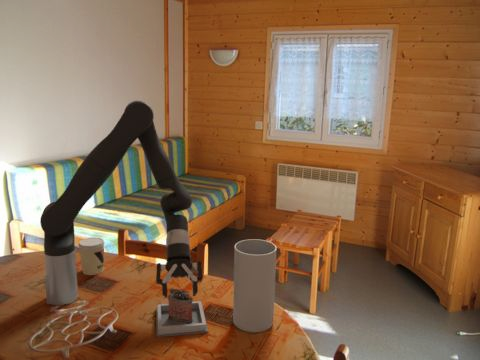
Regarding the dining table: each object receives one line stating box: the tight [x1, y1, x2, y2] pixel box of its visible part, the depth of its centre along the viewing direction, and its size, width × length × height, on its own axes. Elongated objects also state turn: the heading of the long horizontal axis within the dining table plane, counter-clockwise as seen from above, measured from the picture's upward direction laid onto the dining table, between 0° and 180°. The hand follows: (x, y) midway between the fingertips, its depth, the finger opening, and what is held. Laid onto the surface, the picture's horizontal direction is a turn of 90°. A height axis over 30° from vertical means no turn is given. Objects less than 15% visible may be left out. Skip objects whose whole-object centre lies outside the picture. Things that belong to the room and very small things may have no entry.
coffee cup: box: [78, 237, 105, 276], centre depth 167 cm, size 9×9×12 cm
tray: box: [155, 300, 209, 338], centre depth 135 cm, size 15×15×2 cm
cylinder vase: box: [232, 238, 277, 333], centre depth 133 cm, size 12×12×25 cm
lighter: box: [167, 288, 194, 324], centre depth 134 cm, size 8×3×10 cm, turn 71°
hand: (180, 296), depth 133 cm, fingers open, 8 cm apart
